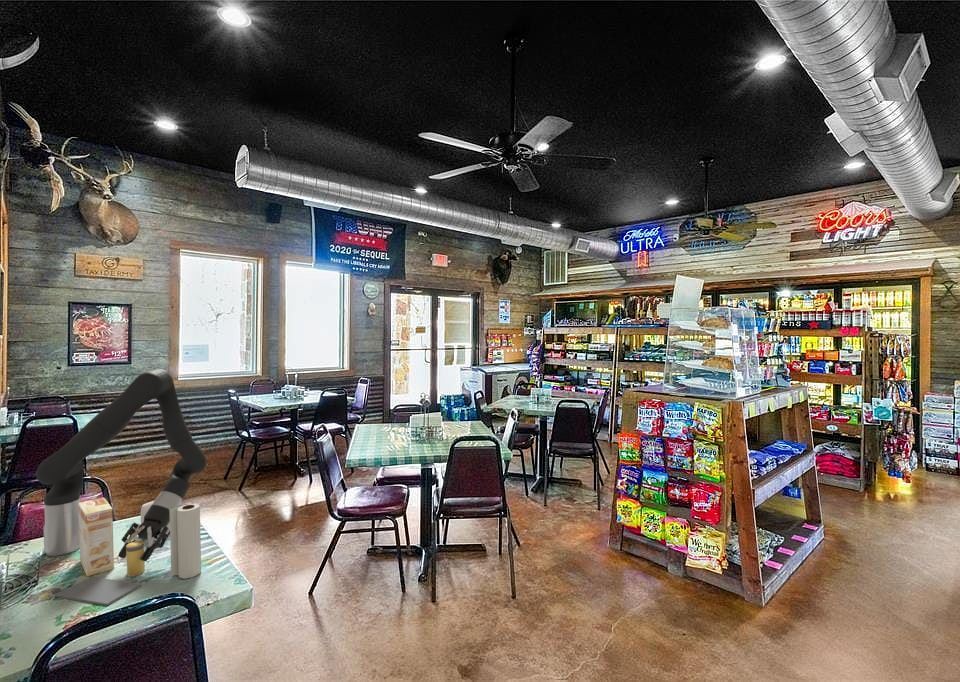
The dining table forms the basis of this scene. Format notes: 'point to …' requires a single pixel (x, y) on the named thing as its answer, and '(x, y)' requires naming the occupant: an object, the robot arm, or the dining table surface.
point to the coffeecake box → (96, 536)
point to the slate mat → (98, 590)
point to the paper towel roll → (185, 540)
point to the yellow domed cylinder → (135, 558)
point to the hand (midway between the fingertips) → (131, 559)
